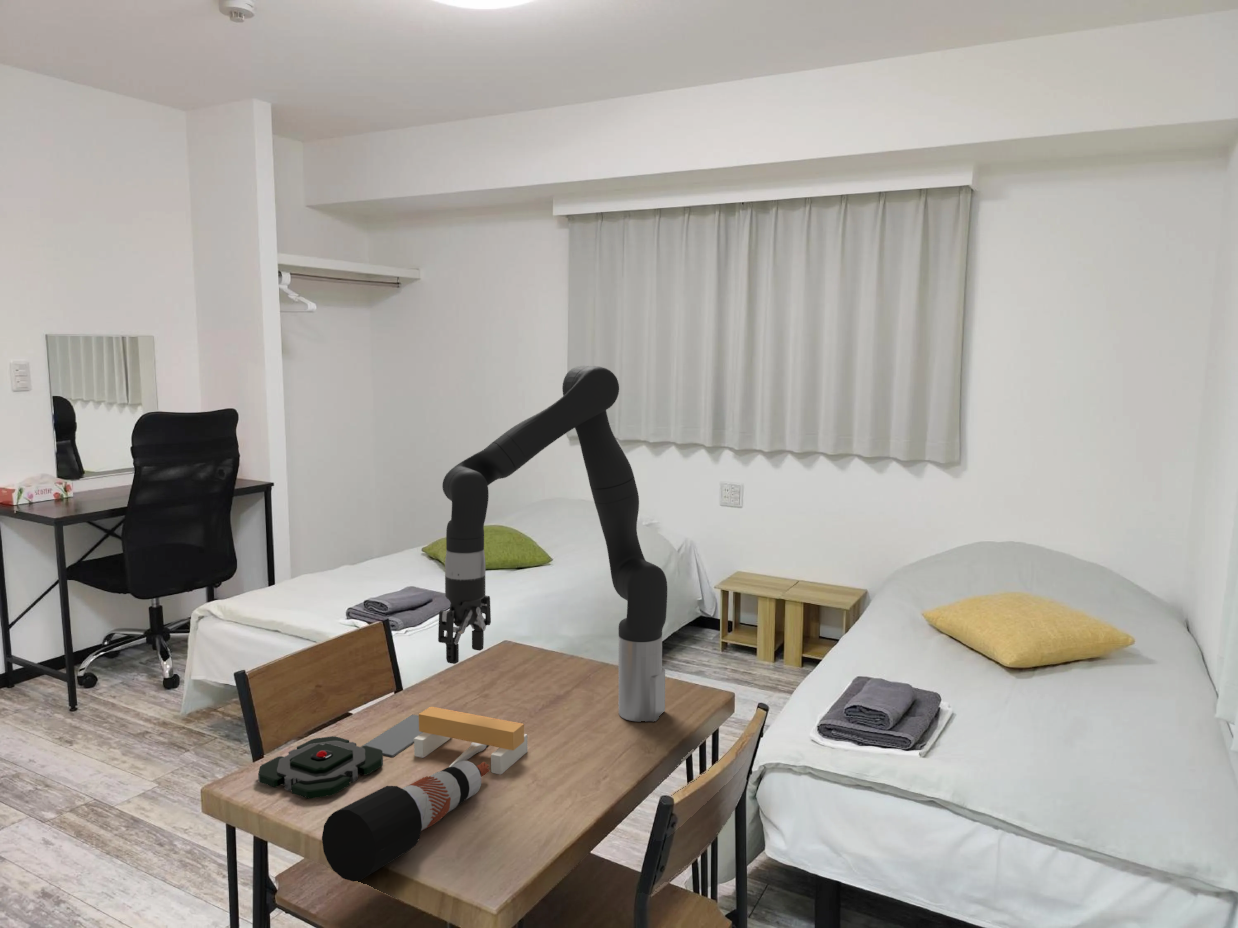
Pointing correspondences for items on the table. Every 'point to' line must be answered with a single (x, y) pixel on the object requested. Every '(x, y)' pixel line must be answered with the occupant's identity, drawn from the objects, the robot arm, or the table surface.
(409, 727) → the mat
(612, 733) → the table surface
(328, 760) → the flat green button pad
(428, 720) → the bar
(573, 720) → the table surface
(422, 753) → the rails
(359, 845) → the cable
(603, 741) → the table surface
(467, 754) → the white tapered spike
